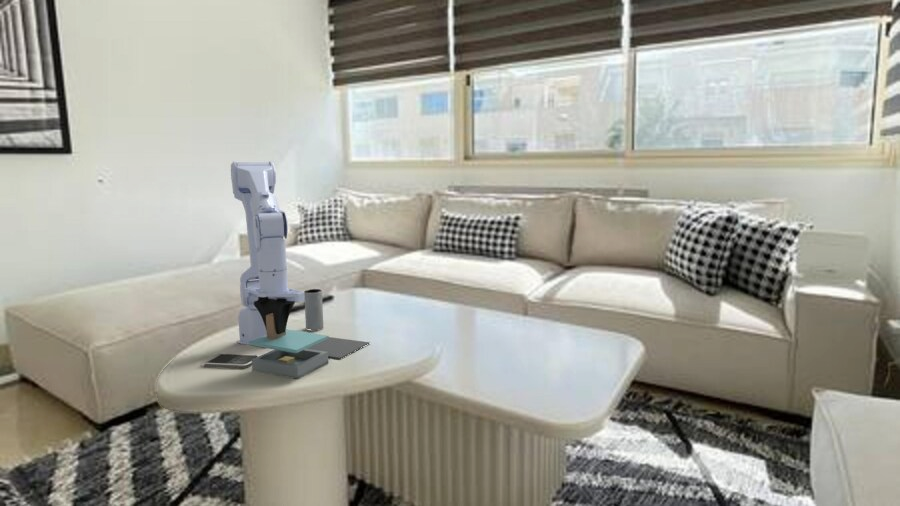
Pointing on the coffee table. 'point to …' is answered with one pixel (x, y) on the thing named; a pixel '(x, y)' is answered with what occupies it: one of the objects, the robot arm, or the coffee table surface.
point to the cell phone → (229, 361)
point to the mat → (338, 347)
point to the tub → (290, 362)
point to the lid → (286, 338)
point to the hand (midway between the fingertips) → (276, 332)
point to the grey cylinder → (313, 309)
